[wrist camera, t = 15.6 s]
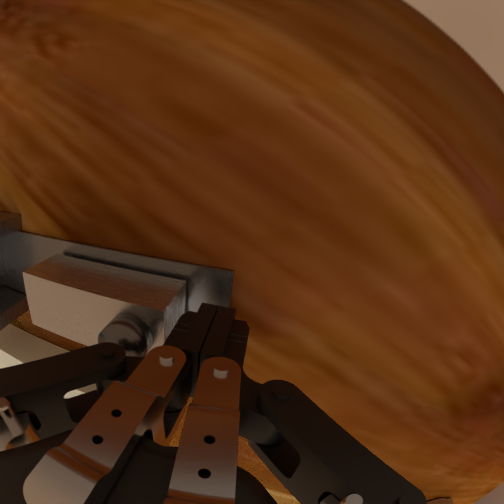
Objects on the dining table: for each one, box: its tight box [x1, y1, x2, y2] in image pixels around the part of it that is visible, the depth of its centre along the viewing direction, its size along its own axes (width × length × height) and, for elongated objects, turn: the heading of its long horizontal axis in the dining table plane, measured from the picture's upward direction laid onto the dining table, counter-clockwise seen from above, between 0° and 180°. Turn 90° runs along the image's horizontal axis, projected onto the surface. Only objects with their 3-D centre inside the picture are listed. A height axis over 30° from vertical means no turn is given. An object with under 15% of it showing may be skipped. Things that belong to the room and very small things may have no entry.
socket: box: [0, 324, 97, 398], centre depth 17 cm, size 14×14×3 cm
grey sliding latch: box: [0, 211, 234, 331], centre depth 13 cm, size 18×7×4 cm, turn 82°
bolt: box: [23, 254, 186, 357], centre depth 12 cm, size 8×3×4 cm, turn 82°
